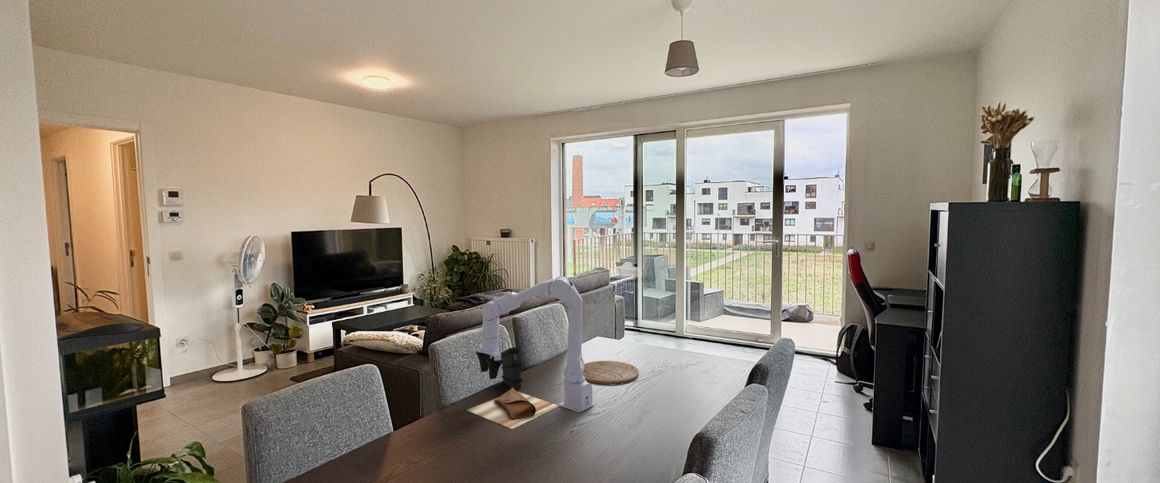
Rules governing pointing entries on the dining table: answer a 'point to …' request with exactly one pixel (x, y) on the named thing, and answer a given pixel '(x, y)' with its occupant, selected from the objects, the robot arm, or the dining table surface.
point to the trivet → (609, 372)
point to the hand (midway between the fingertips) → (488, 374)
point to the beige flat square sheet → (501, 417)
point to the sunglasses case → (516, 404)
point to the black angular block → (511, 368)
